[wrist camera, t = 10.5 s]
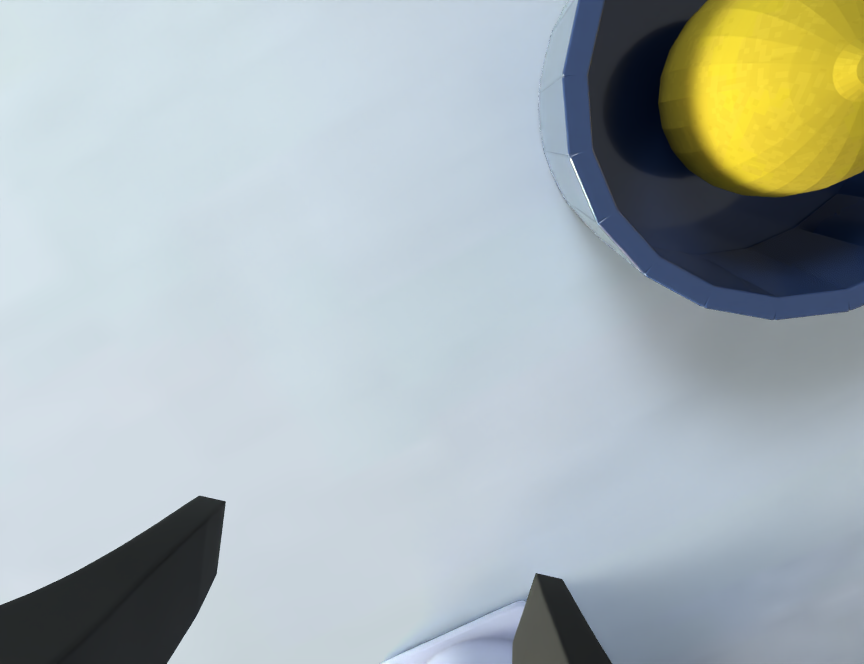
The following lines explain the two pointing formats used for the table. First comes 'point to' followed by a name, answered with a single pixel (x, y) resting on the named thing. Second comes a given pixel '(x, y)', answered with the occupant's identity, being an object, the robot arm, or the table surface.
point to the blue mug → (682, 178)
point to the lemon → (768, 95)
